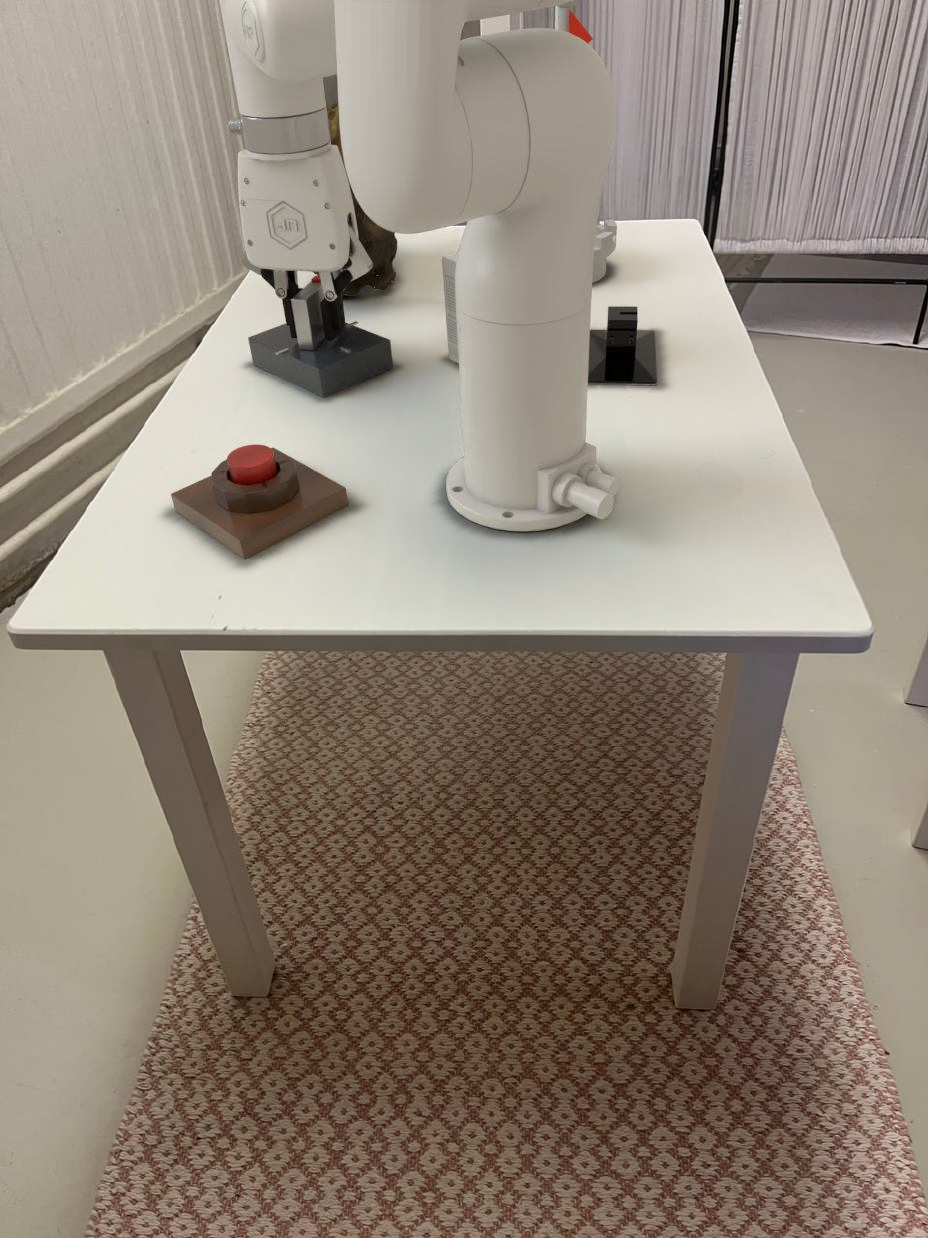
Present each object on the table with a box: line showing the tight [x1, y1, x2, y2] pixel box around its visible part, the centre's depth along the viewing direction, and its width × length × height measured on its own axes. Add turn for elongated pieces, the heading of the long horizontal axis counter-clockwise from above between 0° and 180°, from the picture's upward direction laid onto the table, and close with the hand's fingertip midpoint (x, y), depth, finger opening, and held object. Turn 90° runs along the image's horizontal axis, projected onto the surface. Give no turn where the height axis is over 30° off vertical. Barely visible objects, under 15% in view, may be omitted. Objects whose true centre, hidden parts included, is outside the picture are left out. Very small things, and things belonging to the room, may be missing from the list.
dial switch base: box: [247, 321, 394, 399], centre depth 94 cm, size 12×10×3 cm
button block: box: [170, 447, 349, 560], centre depth 74 cm, size 10×10×4 cm
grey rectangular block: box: [291, 275, 325, 350], centre depth 92 cm, size 6×2×5 cm, turn 164°
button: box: [226, 444, 277, 485], centre depth 72 cm, size 4×4×2 cm
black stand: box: [588, 305, 658, 386], centre depth 92 cm, size 12×7×5 cm, turn 172°
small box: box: [441, 251, 459, 365], centre depth 92 cm, size 8×6×10 cm
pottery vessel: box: [312, 102, 398, 297], centre depth 108 cm, size 25×11×20 cm, turn 176°
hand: (317, 332), depth 93 cm, fingers open, 3 cm apart
